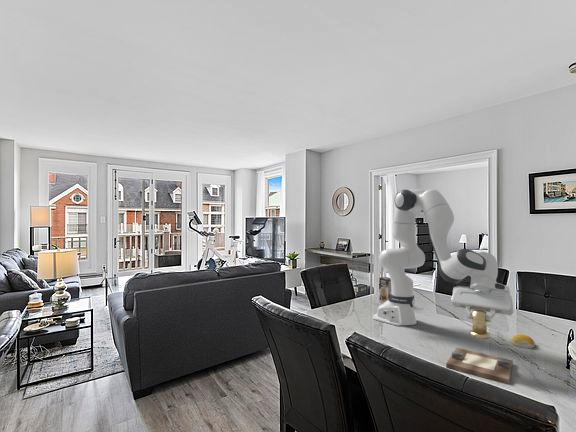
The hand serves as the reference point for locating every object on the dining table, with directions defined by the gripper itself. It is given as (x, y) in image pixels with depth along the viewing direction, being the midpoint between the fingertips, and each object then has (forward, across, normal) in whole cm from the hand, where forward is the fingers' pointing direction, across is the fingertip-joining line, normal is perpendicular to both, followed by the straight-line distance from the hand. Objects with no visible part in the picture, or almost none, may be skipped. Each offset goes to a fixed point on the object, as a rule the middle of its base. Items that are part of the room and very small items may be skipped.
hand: (479, 319), depth 117 cm
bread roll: (-12, +11, +38) cm, 41 cm away
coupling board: (+12, 0, +13) cm, 17 cm away
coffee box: (-33, -60, +57) cm, 89 cm away
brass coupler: (+4, 0, +5) cm, 6 cm away
